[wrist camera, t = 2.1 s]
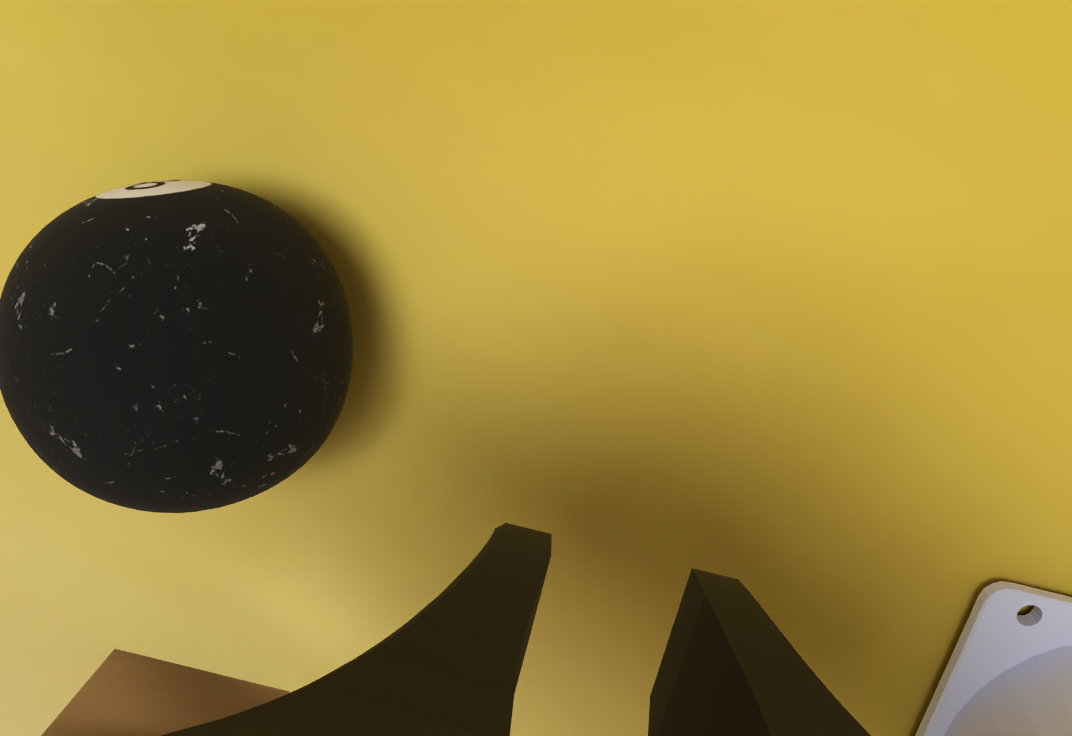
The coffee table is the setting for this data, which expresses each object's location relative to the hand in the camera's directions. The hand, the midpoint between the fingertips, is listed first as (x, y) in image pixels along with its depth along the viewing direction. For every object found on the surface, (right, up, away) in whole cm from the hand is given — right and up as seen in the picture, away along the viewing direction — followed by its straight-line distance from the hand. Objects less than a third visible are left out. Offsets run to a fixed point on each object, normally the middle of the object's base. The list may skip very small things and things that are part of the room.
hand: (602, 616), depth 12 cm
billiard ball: (-7, +5, +8) cm, 12 cm away
